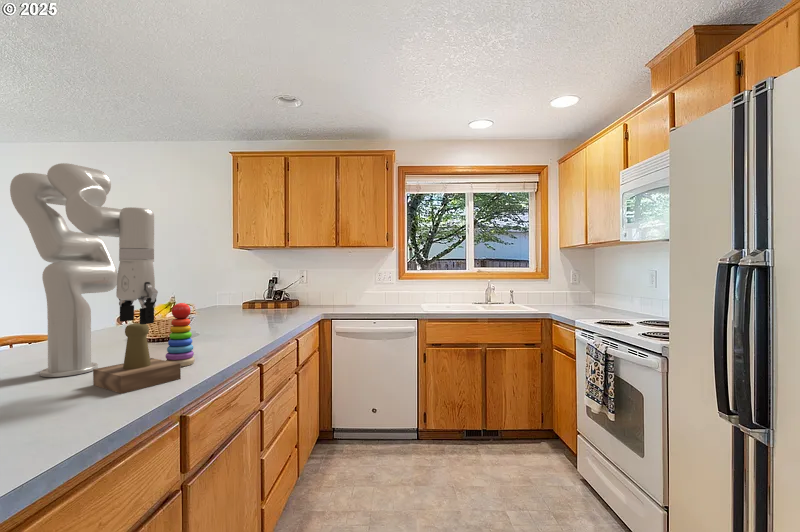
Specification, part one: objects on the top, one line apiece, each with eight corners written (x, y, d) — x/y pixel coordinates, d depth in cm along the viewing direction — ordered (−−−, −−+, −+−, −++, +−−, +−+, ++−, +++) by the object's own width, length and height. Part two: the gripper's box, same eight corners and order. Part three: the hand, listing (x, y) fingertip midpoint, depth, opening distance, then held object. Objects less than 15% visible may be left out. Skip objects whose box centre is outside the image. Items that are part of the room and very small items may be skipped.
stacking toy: (181, 368, 115) (181, 304, 115) (158, 367, 116) (157, 304, 117) (200, 362, 123) (200, 302, 123) (178, 361, 124) (178, 301, 124)
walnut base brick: (93, 385, 99) (93, 369, 99) (151, 372, 111) (151, 357, 111) (121, 393, 92) (121, 376, 92) (180, 378, 104) (180, 363, 104)
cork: (148, 362, 106) (148, 321, 106) (153, 366, 101) (153, 323, 101) (121, 366, 102) (121, 323, 102) (124, 370, 97) (124, 326, 97)
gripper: (104, 256, 103) (103, 321, 103) (139, 255, 94) (138, 326, 94) (135, 256, 109) (134, 318, 109) (170, 256, 100) (170, 323, 101)
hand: (136, 322), depth 102 cm, fingers open, 9 cm apart
